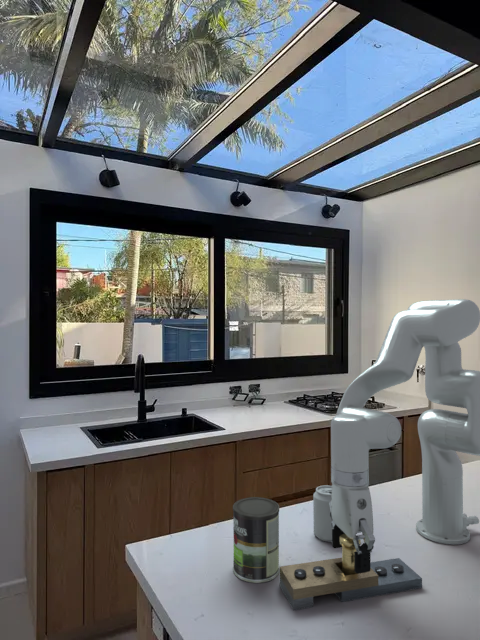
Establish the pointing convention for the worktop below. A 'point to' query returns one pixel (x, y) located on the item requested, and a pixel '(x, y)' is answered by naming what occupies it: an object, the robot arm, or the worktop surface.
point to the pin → (348, 554)
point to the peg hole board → (344, 581)
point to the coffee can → (256, 539)
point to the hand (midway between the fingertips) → (350, 558)
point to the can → (322, 513)
